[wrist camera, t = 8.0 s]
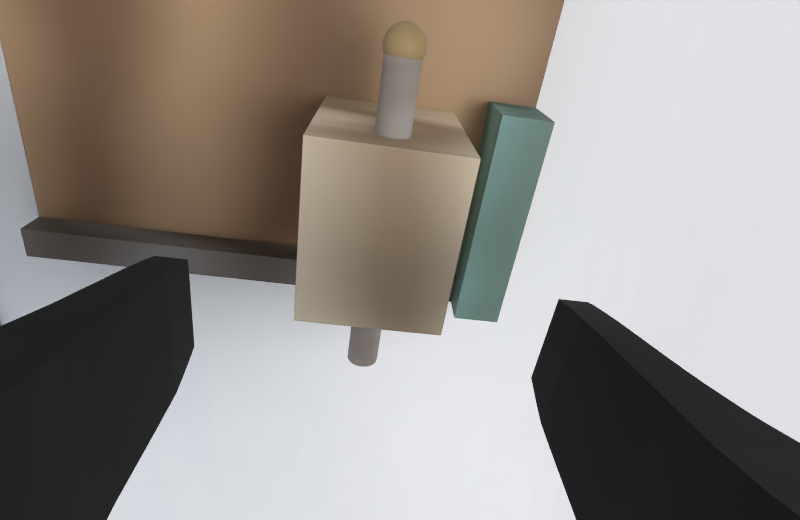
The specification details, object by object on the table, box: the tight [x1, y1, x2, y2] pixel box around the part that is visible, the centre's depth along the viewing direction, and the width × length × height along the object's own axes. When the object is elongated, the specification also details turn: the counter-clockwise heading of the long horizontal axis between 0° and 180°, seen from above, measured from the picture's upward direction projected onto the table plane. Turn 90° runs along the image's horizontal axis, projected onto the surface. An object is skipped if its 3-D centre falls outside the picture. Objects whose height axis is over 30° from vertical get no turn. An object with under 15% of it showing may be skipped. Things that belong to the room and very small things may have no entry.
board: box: [0, 0, 564, 322], centre depth 15 cm, size 16×11×4 cm
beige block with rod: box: [294, 21, 481, 366], centre depth 14 cm, size 4×10×5 cm, turn 172°
